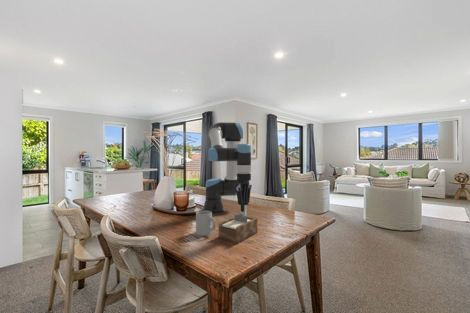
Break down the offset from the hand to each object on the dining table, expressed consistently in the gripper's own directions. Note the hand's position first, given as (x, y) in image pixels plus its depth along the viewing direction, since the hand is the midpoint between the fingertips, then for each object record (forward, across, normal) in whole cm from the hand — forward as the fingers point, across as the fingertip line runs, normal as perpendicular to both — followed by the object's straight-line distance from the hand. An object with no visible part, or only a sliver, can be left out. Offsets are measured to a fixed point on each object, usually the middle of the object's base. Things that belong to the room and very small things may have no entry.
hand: (243, 217), depth 122 cm
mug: (+9, +13, -15) cm, 21 cm away
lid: (+2, +5, 0) cm, 6 cm away
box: (+8, +5, 0) cm, 10 cm away
